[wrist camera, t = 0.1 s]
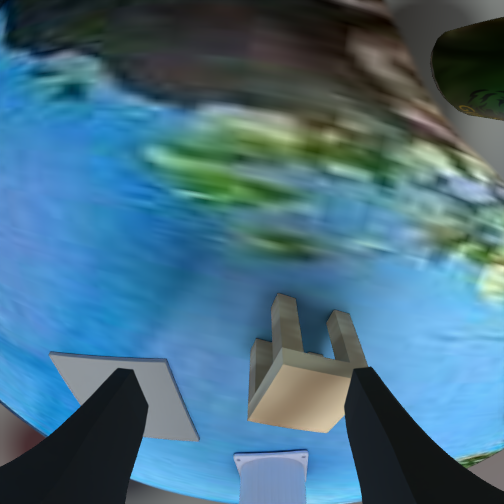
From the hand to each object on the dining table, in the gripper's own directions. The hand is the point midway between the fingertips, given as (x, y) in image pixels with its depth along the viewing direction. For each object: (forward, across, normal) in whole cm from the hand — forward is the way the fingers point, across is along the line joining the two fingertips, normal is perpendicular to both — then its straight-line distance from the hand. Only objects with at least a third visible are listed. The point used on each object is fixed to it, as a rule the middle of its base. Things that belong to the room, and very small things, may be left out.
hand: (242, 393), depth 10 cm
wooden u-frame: (+10, -3, +6) cm, 12 cm away
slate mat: (+10, +12, +15) cm, 22 cm away
